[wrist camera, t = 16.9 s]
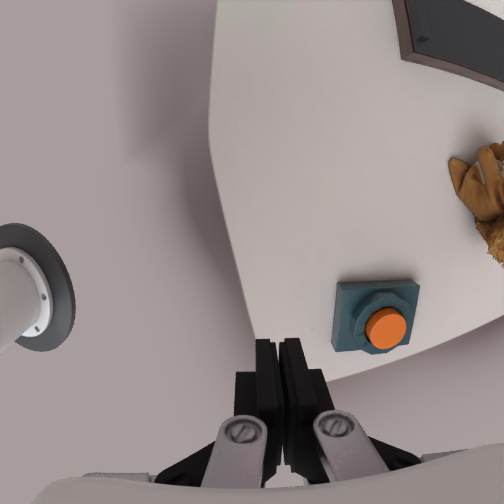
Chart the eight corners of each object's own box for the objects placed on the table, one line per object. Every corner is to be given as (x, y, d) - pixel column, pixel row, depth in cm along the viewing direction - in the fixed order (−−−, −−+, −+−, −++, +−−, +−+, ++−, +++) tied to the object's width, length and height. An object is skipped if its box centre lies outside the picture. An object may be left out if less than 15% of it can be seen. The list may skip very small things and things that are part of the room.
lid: (414, 51, 26) (423, 45, 23) (400, -21, 23) (407, -28, 21) (518, 88, 26) (529, 86, 24) (505, 23, 23) (514, 19, 21)
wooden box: (401, 59, 29) (412, 52, 26) (389, -9, 26) (399, -20, 23) (503, 91, 29) (517, 88, 26) (491, 28, 26) (503, 23, 23)
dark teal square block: (331, 343, 37) (338, 360, 34) (337, 282, 35) (346, 295, 32) (401, 336, 38) (414, 351, 34) (412, 279, 36) (427, 291, 32)
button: (363, 343, 34) (367, 351, 32) (368, 308, 32) (373, 315, 31) (396, 339, 34) (402, 347, 32) (403, 306, 32) (409, 312, 31)
